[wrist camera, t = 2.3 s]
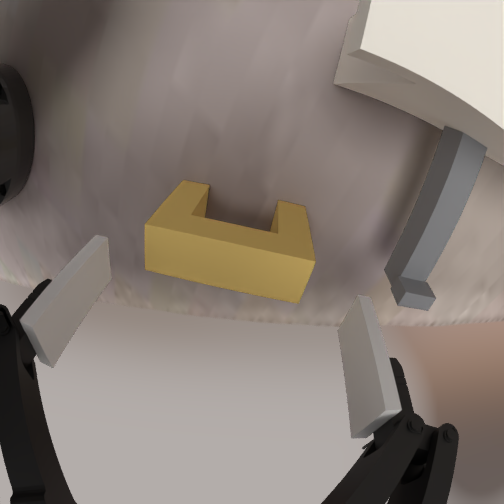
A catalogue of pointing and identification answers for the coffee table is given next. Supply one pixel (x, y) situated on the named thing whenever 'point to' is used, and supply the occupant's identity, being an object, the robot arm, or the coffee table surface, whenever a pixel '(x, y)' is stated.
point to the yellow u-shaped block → (230, 247)
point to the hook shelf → (432, 109)
